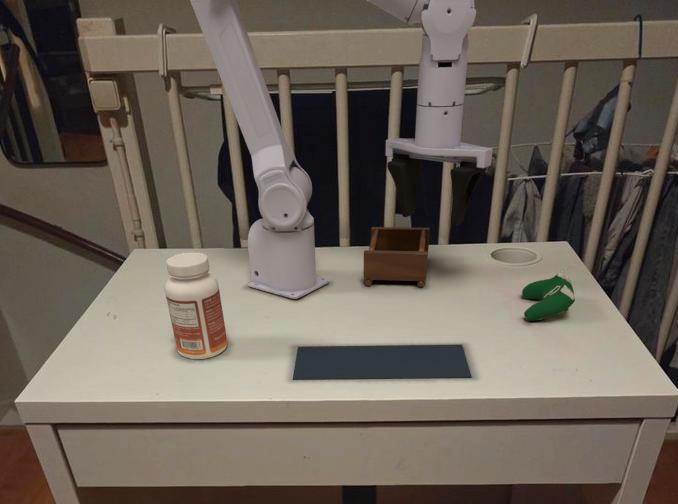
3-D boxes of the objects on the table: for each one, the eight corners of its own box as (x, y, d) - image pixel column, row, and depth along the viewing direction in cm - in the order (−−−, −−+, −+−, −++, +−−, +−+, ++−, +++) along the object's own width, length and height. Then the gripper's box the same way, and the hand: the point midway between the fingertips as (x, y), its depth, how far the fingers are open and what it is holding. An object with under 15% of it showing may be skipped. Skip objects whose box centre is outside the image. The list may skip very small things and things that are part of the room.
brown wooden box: (371, 259, 100) (371, 226, 97) (427, 260, 99) (429, 227, 96) (363, 286, 91) (363, 252, 88) (425, 288, 90) (427, 253, 86)
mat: (292, 379, 70) (292, 378, 70) (297, 347, 76) (297, 346, 76) (471, 377, 69) (471, 376, 69) (462, 345, 75) (462, 344, 75)
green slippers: (539, 337, 80) (581, 307, 77) (521, 316, 79) (563, 285, 76) (535, 308, 87) (574, 280, 84) (519, 288, 86) (557, 259, 83)
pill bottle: (219, 334, 80) (205, 246, 73) (234, 353, 75) (222, 262, 68) (171, 344, 78) (153, 255, 71) (184, 365, 73) (166, 272, 66)
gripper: (509, 103, 75) (494, 220, 83) (407, 96, 82) (403, 205, 91) (482, 111, 71) (469, 234, 79) (377, 103, 78) (375, 216, 86)
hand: (432, 219), depth 85 cm, fingers open, 7 cm apart
